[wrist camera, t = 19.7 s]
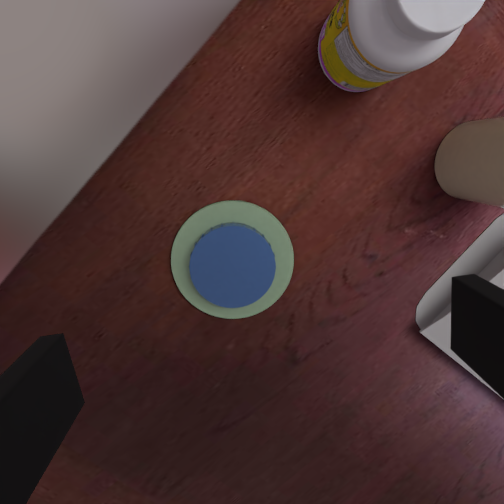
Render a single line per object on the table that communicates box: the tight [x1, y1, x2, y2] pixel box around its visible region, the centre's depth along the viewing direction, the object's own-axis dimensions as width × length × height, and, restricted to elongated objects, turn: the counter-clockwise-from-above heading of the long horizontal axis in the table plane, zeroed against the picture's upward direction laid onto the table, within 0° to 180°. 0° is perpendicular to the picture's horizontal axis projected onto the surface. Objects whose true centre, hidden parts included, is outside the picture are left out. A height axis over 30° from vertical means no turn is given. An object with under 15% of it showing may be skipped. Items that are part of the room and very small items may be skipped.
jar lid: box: [189, 222, 276, 308], centre depth 32 cm, size 8×8×2 cm
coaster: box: [171, 200, 294, 319], centre depth 33 cm, size 11×11×1 cm
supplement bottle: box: [318, 0, 485, 92], centre depth 23 cm, size 7×7×13 cm
